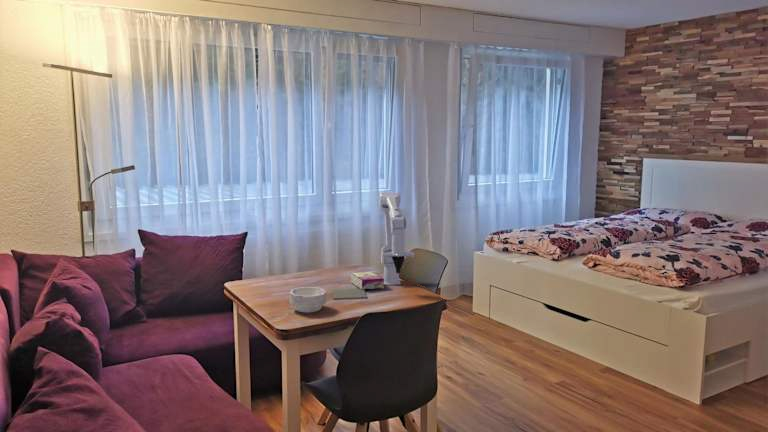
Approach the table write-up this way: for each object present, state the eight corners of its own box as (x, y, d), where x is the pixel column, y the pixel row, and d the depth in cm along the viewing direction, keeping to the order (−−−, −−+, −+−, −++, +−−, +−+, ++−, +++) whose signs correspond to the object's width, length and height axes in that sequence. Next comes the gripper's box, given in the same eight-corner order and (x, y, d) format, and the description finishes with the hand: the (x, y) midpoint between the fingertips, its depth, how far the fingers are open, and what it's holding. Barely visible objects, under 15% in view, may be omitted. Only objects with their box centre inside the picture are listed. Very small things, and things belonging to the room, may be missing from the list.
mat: (332, 290, 275) (332, 289, 275) (363, 289, 277) (363, 288, 276) (333, 299, 261) (333, 298, 261) (366, 298, 263) (366, 297, 263)
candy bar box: (384, 289, 278) (371, 281, 293) (384, 278, 277) (372, 271, 292) (361, 290, 274) (350, 282, 289) (361, 279, 273) (350, 272, 288)
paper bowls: (334, 309, 247) (334, 291, 246) (304, 317, 236) (304, 298, 235) (311, 302, 258) (311, 284, 256) (282, 309, 247) (282, 290, 246)
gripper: (383, 245, 263) (383, 275, 265) (415, 244, 265) (415, 274, 267) (381, 242, 270) (381, 271, 272) (412, 241, 272) (412, 270, 274)
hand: (398, 272), depth 270 cm, fingers closed
